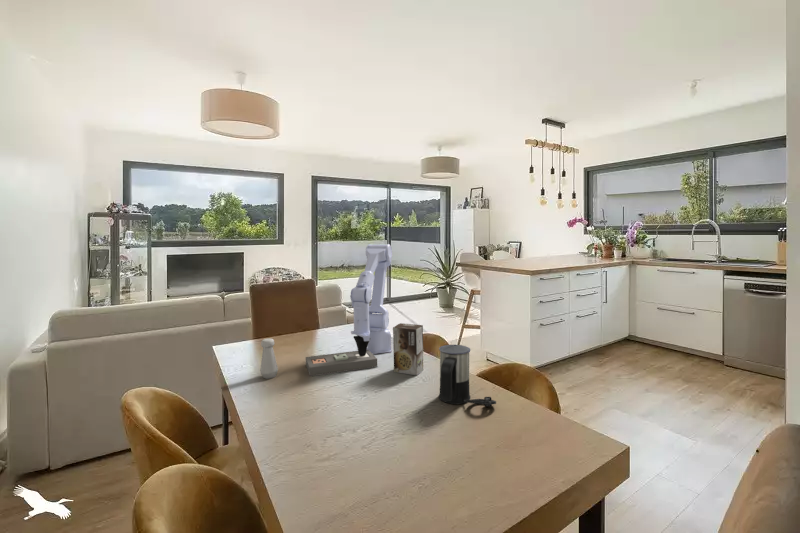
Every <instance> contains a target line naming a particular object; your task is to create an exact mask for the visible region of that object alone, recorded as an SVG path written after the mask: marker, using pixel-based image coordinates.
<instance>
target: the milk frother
mask: <svg viewBox="0 0 800 533" xmlns="http://www.w3.org/2000/svg"><path fill="white" fill-rule="evenodd" d="M438 350H439V351H440V352H439V395H438V398H439V400H440V401H442V402H444V403H447V404H451V405H461V404H465V403H467V404H468V403H469V404H478V405H484V406H485V407H489V408H490V407H492V405H496V404H497V401H496V400H494V399H492V397H491V396H484V398H475V399H474V398H473V399H471V395H470V394H471V393H470V353H471V348H470V347H469V346H466V345H462V344H446V345H442V346H440V347H438Z"/></svg>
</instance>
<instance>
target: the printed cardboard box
mask: <svg viewBox="0 0 800 533" xmlns="http://www.w3.org/2000/svg"><path fill="white" fill-rule="evenodd" d="M423 330H424V325H423V324H411V323H402V322H401V323H398V324H396V325H395V326H393V327H392V340H393V341H392V344H393V372H394V373H397V374H398V373H399V374H407V375H412V376H413V375H414V376H418V375H419V374H420V373H422V372H423V371H424V331H423Z"/></svg>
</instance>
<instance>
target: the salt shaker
mask: <svg viewBox="0 0 800 533" xmlns="http://www.w3.org/2000/svg"><path fill="white" fill-rule="evenodd" d="M260 346H261V347H262V353H261V360H260V361H261V362H260V370H259V371H260V375H261V377H262V378H263V379H265V380H268V379H273V378H275V377H276V376H277V374H278V371H279V367H278V364H277V363H278V362H277V359H276V354H275V351H274V346H275V339H273V338H270V337H269V338H264V339H262V340H261V342H260Z"/></svg>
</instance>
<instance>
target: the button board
mask: <svg viewBox="0 0 800 533" xmlns="http://www.w3.org/2000/svg"><path fill="white" fill-rule="evenodd" d="M366 353H367V354H368V355H369V357H362V358H357V357H356V356H355V355H356V354H359V353H358V350H352V351H343V352H336V353H335V352H334V353H328V354H321V355H311V356H305V367H306V369H307V372H308V375H309V377H315V376H320V375H328V374H329V375H330V374H335V373H342V372H343V373H344V372H351V371H357V370H364V369H365V370H366V369H373V368H377V367H378V357H377V356H375V354H372V353H371V352H370V351H369V350H366ZM340 354H346V355H347V356H348V359H346V360H339V361H335V359H334V355H340ZM323 358H324V359H325V361H326V362H323V363H315V364H313V363H312V360H315V359H323ZM372 367H373V368H372Z"/></svg>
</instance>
